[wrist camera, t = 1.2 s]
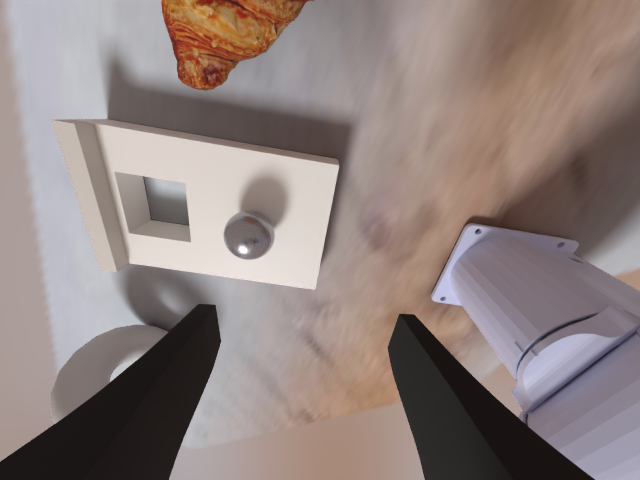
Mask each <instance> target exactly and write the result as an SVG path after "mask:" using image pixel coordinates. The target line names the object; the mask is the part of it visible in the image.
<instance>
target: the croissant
mask: <svg viewBox="0 0 640 480" xmlns="http://www.w3.org/2000/svg"><path fill="white" fill-rule="evenodd" d="M307 1H308V0H162V12H163V17H164V21H165V24H166V27H167V30H168V33H169V36H170V39H171V42H172V45H173V50H174V55H175V57H176V59H177V72H178V78H179V79H180V80H181V82H182V83H184V84H186V85H188V86H190V87H192V88H195V89H199V90H211V89H214V88H215V87H217V86H219V85H222V84H223V83H224V82H225V81H226V79H227V77H228V74H229V72H230V71H231V70H232V69H233V68H235V67H236V65H237V64H238V62H239V61H242V60H246V59H251V58H254V57H256V56H258V55H260V54H262V53H264V52H266V51H267V50H268V49H269V48H270V46H271V45H272V44H273V43H274V41H275V40H276V39H277V38H278V37H279V36H280V34H281V33H282V31H283V30H284V28H285V27H286V26H287V25H288V24H289V23H290V22H291V21H294V20H295V18H296V17H297V16H298V15H299V13H300V11H301V9H302V8H303V6H304V4H305V3H306V2H307ZM310 1H314V0H310Z"/></svg>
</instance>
